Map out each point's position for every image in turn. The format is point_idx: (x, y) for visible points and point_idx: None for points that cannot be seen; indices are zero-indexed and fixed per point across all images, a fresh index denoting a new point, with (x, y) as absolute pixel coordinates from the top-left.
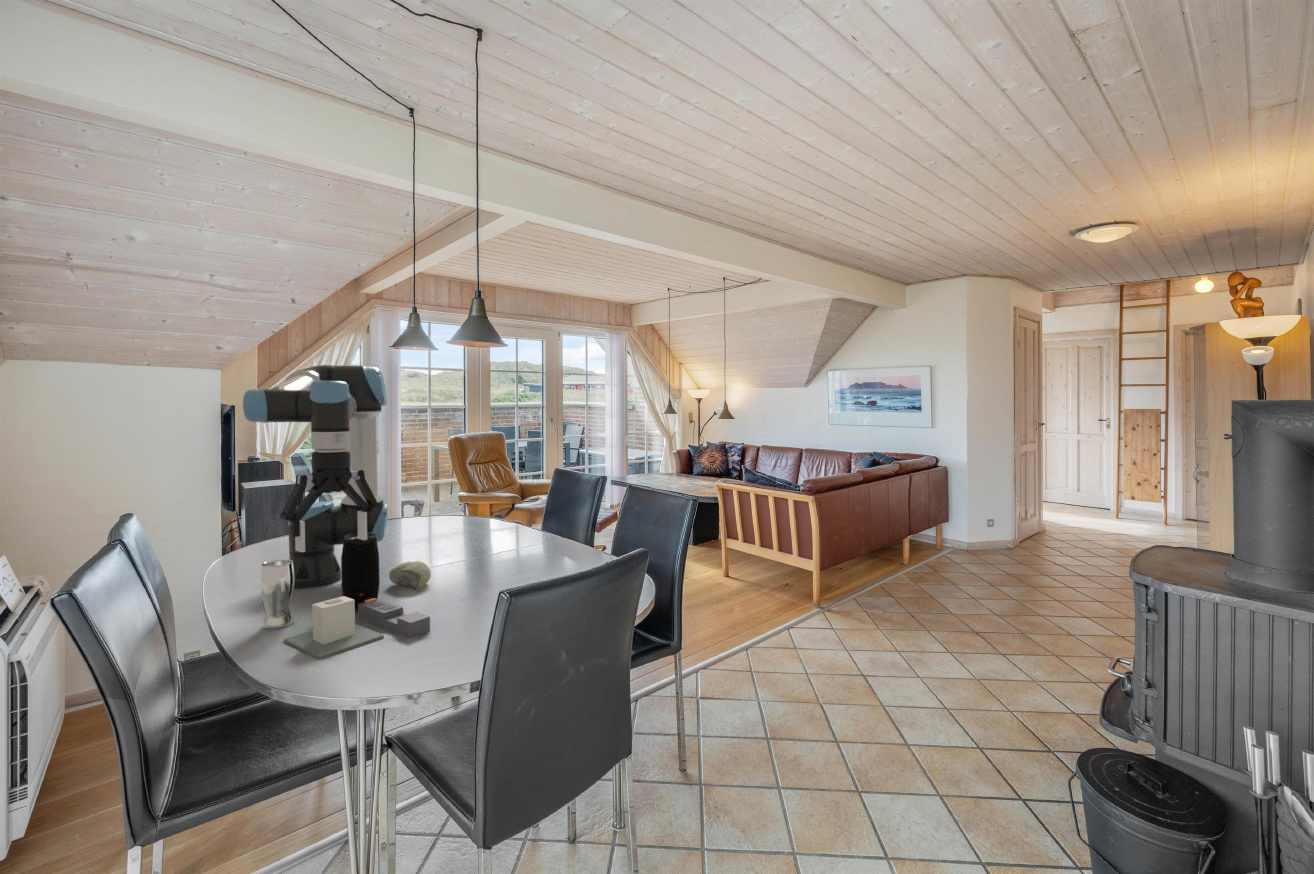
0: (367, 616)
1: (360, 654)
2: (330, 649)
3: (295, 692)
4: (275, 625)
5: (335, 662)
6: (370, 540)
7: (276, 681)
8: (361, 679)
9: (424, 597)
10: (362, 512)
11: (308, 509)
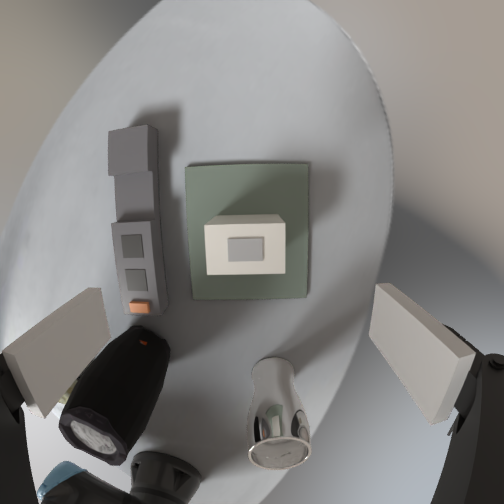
0: (162, 277)
1: (252, 127)
2: (281, 178)
3: (375, 86)
4: (285, 362)
5: (296, 130)
6: (74, 409)
7: (380, 141)
8: (299, 46)
9: (60, 301)
10: (20, 367)
11: (481, 426)
